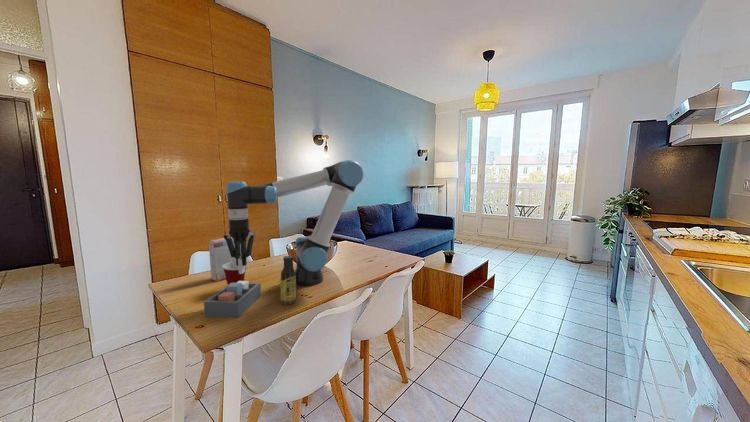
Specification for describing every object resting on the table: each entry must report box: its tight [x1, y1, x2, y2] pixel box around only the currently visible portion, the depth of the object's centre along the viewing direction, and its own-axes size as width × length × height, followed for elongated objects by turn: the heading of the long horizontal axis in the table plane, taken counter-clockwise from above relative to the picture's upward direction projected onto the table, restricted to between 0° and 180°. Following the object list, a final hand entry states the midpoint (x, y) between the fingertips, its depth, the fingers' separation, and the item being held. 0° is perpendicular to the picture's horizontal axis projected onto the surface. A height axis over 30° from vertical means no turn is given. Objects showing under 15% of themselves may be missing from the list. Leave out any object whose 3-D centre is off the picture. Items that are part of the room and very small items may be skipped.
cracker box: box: [208, 237, 241, 283], centre depth 150 cm, size 14×6×21 cm, turn 144°
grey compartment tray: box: [203, 282, 262, 319], centre depth 118 cm, size 13×20×6 cm, turn 179°
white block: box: [237, 280, 250, 289], centre depth 123 cm, size 4×4×5 cm
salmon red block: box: [218, 292, 235, 301], centre depth 111 cm, size 4×4×5 cm
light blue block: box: [225, 283, 242, 294], centre depth 117 cm, size 4×4×5 cm
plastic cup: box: [222, 262, 248, 285], centre depth 134 cm, size 11×11×12 cm
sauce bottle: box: [280, 255, 297, 306], centre depth 120 cm, size 6×6×20 cm
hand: (242, 272), depth 123 cm, fingers closed
